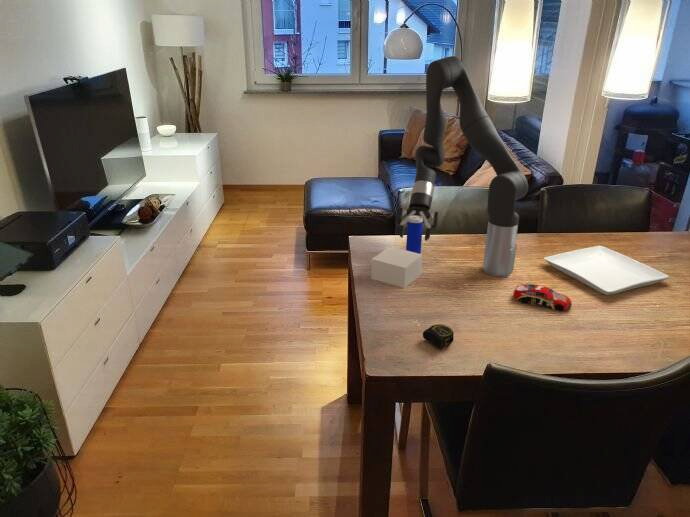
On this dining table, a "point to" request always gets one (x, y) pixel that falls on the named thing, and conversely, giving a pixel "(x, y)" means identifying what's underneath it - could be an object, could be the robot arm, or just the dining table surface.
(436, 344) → the tape measure
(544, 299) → the race car
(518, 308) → the dining table surface
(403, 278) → the plain grey cuboid
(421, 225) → the beverage can
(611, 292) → the square plate
